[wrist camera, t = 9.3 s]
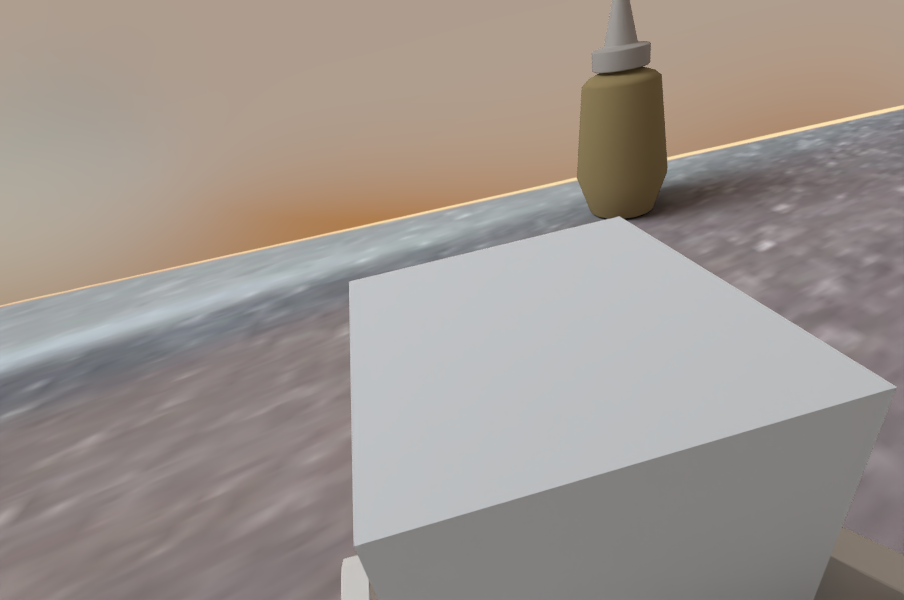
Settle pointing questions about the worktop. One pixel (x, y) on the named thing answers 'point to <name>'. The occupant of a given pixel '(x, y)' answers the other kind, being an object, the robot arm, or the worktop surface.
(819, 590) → the robot arm
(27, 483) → the worktop surface
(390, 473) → the blue-grey block
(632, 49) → the squeeze bottle
